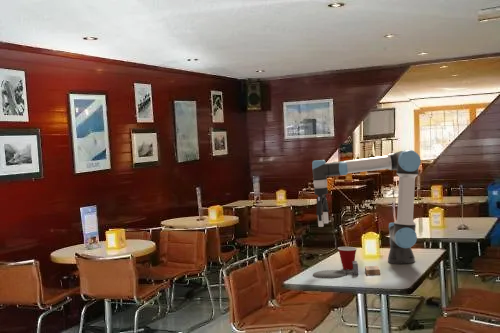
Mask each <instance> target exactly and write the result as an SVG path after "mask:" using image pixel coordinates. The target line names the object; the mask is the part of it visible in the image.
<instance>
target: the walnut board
mask: <svg viewBox="0 0 500 333" xmlns="http://www.w3.org/2000/svg"><path fill="white" fill-rule="evenodd" d="M364 272H365V274H366V276H374V275H376V276H377V275H381V269H380V267H379V265H368V266H364Z"/></svg>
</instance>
